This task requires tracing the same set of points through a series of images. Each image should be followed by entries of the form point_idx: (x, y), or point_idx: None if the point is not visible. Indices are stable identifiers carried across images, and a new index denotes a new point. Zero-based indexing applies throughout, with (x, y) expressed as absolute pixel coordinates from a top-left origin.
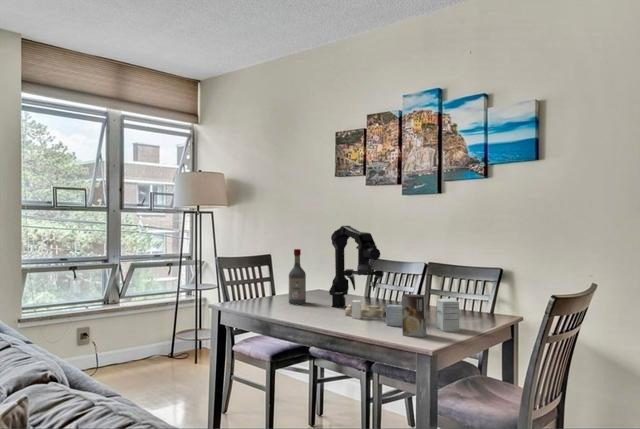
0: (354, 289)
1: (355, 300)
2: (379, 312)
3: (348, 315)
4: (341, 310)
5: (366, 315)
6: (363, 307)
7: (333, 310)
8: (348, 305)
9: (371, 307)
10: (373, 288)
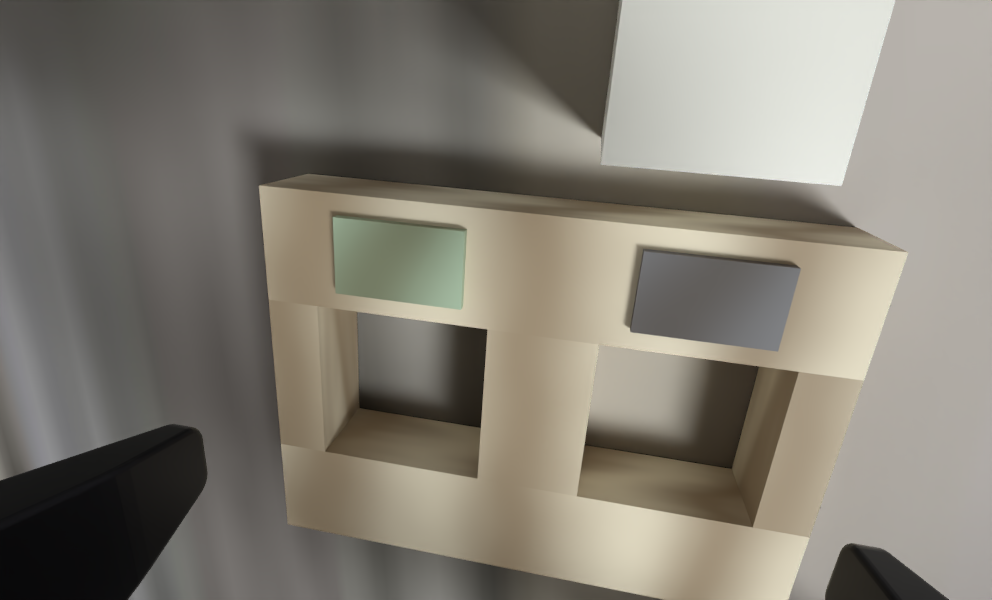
0: (885, 563)
1: (769, 135)
2: (317, 184)
3: (803, 222)
4: None
5: (521, 195)
6: (558, 424)
7: (989, 570)
8: (793, 570)
9: (445, 467)
10: (111, 458)
